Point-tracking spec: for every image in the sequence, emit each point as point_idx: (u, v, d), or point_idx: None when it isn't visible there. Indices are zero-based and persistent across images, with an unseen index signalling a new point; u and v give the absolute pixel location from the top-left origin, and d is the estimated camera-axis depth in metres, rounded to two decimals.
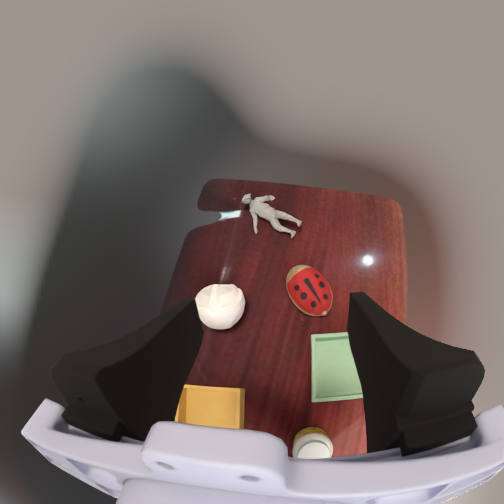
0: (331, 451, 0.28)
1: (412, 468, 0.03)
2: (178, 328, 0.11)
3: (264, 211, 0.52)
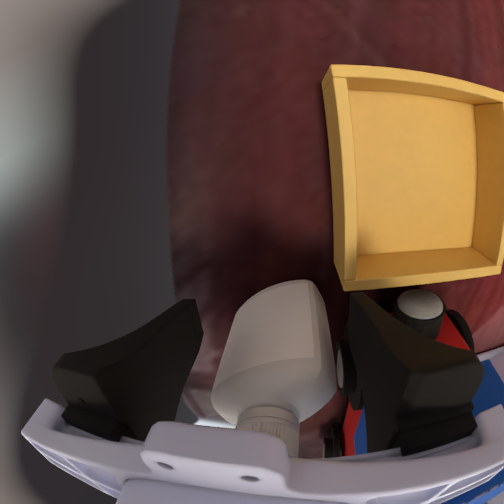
0: None
1: (412, 468, 0.03)
2: (178, 328, 0.11)
3: None
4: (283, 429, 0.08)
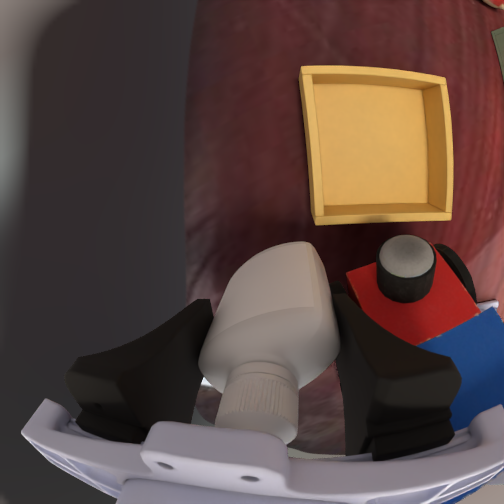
0: None
1: (412, 468, 0.03)
2: (194, 329, 0.11)
3: None
4: (279, 388, 0.07)
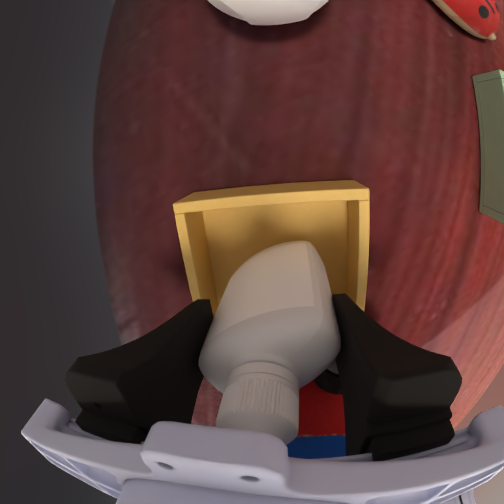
0: None
1: (412, 468, 0.03)
2: (194, 329, 0.11)
3: None
4: (280, 388, 0.07)
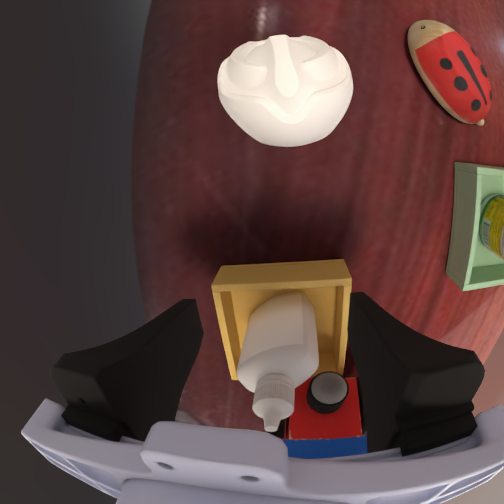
0: None
1: (412, 468, 0.03)
2: (178, 328, 0.11)
3: None
4: (284, 387, 0.15)
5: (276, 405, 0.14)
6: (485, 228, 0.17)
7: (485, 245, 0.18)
